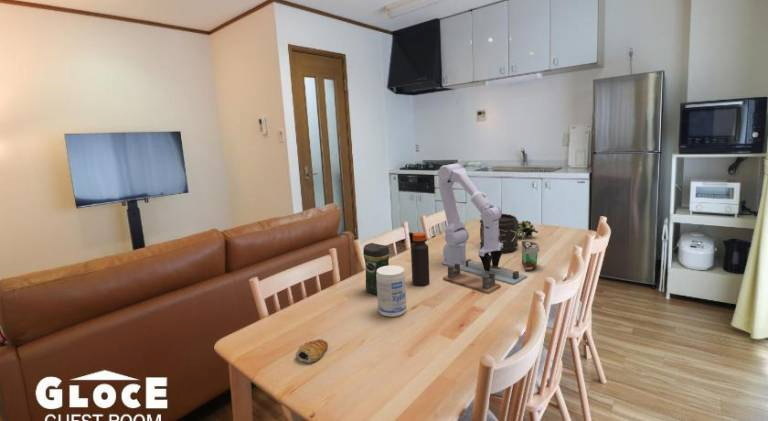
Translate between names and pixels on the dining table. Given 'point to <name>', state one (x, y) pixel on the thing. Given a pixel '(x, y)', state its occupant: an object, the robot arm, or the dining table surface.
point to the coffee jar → (374, 263)
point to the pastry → (312, 351)
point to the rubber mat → (497, 277)
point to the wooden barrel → (505, 232)
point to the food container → (529, 255)
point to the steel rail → (493, 269)
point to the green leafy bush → (526, 229)
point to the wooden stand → (472, 280)
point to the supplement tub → (391, 290)
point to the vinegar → (420, 260)
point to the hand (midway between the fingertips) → (491, 268)
